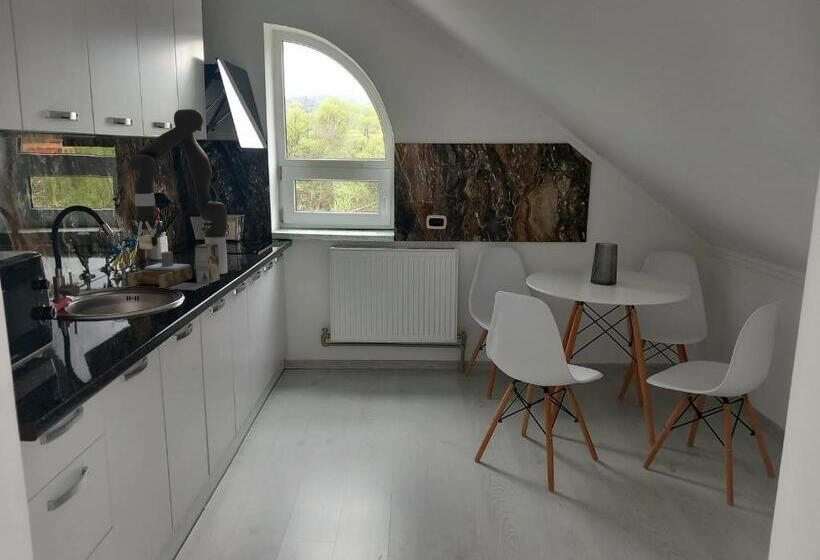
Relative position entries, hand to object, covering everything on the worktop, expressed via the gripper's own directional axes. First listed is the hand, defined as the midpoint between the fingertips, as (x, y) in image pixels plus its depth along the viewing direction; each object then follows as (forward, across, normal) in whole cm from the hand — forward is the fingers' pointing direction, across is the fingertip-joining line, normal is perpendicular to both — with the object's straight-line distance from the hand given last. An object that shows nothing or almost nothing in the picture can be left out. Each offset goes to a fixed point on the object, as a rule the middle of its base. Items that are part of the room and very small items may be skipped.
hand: (148, 245), depth 262 cm
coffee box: (+17, -18, -15) cm, 29 cm away
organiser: (+17, 0, -8) cm, 19 cm away
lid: (+12, 0, -13) cm, 18 cm away
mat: (+17, -16, -2) cm, 24 cm away
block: (+1, 0, 0) cm, 1 cm away
